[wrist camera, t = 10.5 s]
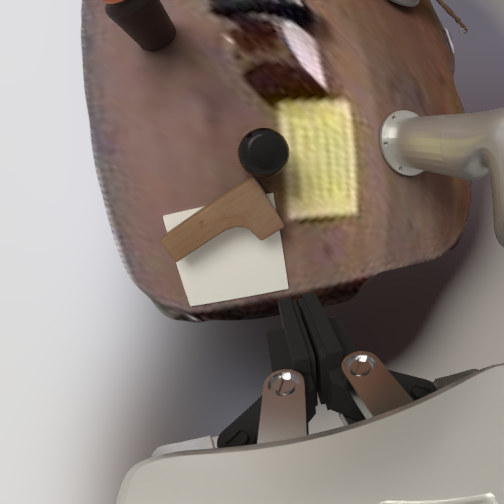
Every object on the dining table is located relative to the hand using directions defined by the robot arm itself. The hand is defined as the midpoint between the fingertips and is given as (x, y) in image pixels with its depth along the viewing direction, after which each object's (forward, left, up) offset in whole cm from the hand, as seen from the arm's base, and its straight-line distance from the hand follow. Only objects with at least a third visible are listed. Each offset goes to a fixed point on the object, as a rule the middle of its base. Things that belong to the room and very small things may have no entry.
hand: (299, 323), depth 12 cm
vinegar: (+11, -33, -35) cm, 50 cm away
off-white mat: (+6, +9, -35) cm, 37 cm away
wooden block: (-2, 0, -32) cm, 32 cm away
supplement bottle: (-2, -7, -35) cm, 36 cm away
